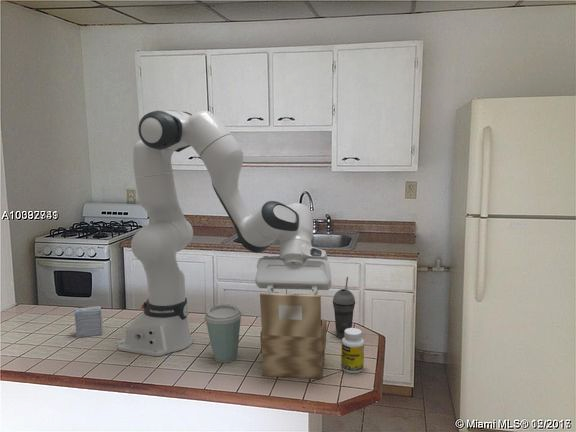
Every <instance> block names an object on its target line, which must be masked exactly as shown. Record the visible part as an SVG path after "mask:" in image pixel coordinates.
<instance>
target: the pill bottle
mask: <svg viewBox="0 0 576 432" xmlns="http://www.w3.org/2000/svg"><path fill="white" fill-rule="evenodd" d="M344 335H345V337H344V338H343V339H341V351H340V352H341V355H340V356H341V357H340V361H341V362H340V366H341V368H340V369H342V370H343V372H346V373H349V374H359V373H361V372H363V370H364V367H365V366H364V365H365V363H364V360H365V357H364V356H365V340H364V338H362V335H363V334H362V330H361V329H360V328H355V327H352V328H348V329H345V332H344Z"/></svg>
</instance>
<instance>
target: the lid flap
mask: <svg viewBox="0 0 576 432" xmlns="http://www.w3.org/2000/svg"><path fill="white" fill-rule="evenodd" d="M321 297H322V296H321V295H318V294H317V295H311V294H292V293H291V294H289V293H287V294H286V293H285V294H284V293H273V294H269V293H262V292H261V293H260V294H259V301H260V321H261V322H260V323H261V330H262V335H276V336H297V337H318V338H321V319H322V303H321V302H322V298H321Z"/></svg>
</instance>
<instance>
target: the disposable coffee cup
mask: <svg viewBox="0 0 576 432" xmlns="http://www.w3.org/2000/svg"><path fill="white" fill-rule="evenodd" d="M241 319H242V312H241V310H240V309H239V308H238V307H237V306H236V305H233V304H227V303H220V304H214V305H212V306H210V307H208V308H207V310H206V312H205V315H204V320H205V323H206V328H207V332H208V336H209V341H210V346H211V350H212V353H213V354H212V355H213V358H214V360H215V361H216V362H218V363H221V364H222V363H225V364H226V363H230V362H233V361H235V360H236V359H237V356H238V350H239V341H240V332H241V331H240V329H241V322H242V320H241Z"/></svg>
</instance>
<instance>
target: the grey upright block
mask: <svg viewBox="0 0 576 432" xmlns="http://www.w3.org/2000/svg"><path fill="white" fill-rule="evenodd" d="M74 321H75V323H74V324H75V332H76V334H75V335H76V339H79V338H87V337H93V336H95V337H96V336H102V335H103V332H104V328H103V327H104V326H103V314H102V306H101V305H98V306H97V305H95V306H90V307H89V306H88V307H79V308H75V311H74Z"/></svg>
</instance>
